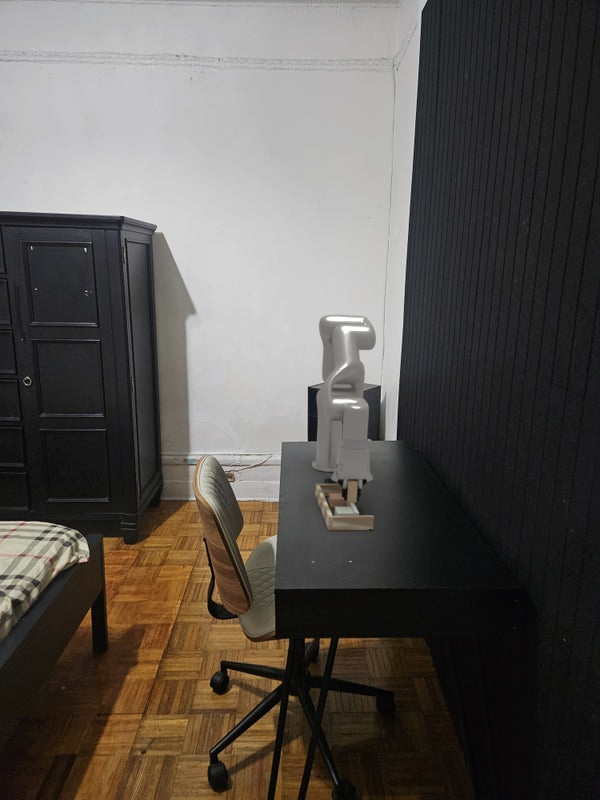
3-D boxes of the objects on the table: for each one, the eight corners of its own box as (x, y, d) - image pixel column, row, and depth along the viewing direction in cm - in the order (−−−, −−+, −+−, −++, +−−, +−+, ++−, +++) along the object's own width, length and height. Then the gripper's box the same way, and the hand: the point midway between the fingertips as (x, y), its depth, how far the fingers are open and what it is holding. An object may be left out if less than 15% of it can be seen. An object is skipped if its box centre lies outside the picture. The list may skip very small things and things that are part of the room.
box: (315, 495, 180) (315, 483, 179) (353, 494, 182) (354, 483, 181) (328, 530, 155) (329, 517, 154) (373, 529, 156) (373, 516, 156)
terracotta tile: (328, 501, 176) (328, 493, 175) (343, 501, 176) (343, 493, 176) (330, 508, 171) (331, 499, 170) (346, 508, 171) (346, 499, 171)
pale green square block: (334, 515, 165) (334, 506, 165) (350, 515, 166) (350, 506, 165) (337, 522, 160) (337, 513, 160) (353, 522, 161) (354, 513, 160)
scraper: (340, 497, 177) (341, 469, 175) (348, 497, 178) (350, 469, 175) (351, 522, 160) (353, 491, 158) (361, 522, 160) (363, 490, 158)
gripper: (377, 439, 169) (373, 494, 173) (326, 439, 167) (323, 494, 171) (383, 446, 161) (379, 503, 165) (330, 446, 159) (327, 504, 163)
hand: (350, 498), depth 168 cm, fingers closed on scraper, 3 cm apart
